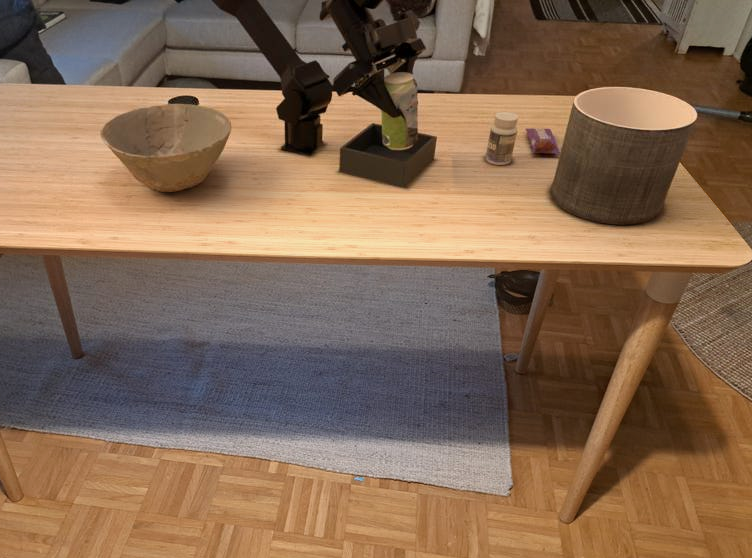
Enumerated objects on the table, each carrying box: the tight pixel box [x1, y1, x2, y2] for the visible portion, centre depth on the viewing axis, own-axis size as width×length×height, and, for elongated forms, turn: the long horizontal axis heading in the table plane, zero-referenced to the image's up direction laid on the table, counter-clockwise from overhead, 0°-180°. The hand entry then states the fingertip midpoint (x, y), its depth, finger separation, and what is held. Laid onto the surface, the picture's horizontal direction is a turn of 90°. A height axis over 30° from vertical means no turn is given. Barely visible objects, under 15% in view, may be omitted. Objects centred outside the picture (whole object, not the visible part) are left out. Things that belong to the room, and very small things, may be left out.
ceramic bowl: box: [99, 103, 232, 193], centre depth 120 cm, size 22×23×10 cm
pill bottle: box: [485, 111, 519, 166], centre depth 125 cm, size 5×5×8 cm
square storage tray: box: [338, 122, 438, 189], centre depth 125 cm, size 13×13×5 cm
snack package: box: [525, 127, 561, 155], centre depth 132 cm, size 12×2×5 cm
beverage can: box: [380, 72, 419, 150], centre depth 114 cm, size 6×7×12 cm
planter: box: [550, 86, 698, 225], centre depth 110 cm, size 18×18×16 cm
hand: (406, 111), depth 113 cm, fingers closed on beverage can, 5 cm apart
